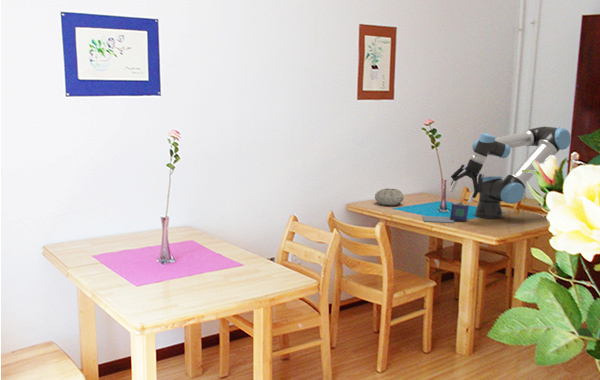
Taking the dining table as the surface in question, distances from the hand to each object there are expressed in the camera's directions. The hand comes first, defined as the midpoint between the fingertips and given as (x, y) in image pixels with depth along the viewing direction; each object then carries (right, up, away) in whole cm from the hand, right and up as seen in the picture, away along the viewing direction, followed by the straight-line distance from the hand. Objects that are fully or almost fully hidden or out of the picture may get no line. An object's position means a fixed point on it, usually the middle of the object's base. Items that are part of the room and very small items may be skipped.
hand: (460, 197), depth 316 cm
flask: (0, -13, +3) cm, 13 cm away
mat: (-11, -13, +5) cm, 17 cm away
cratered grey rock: (-31, -5, +47) cm, 57 cm away
